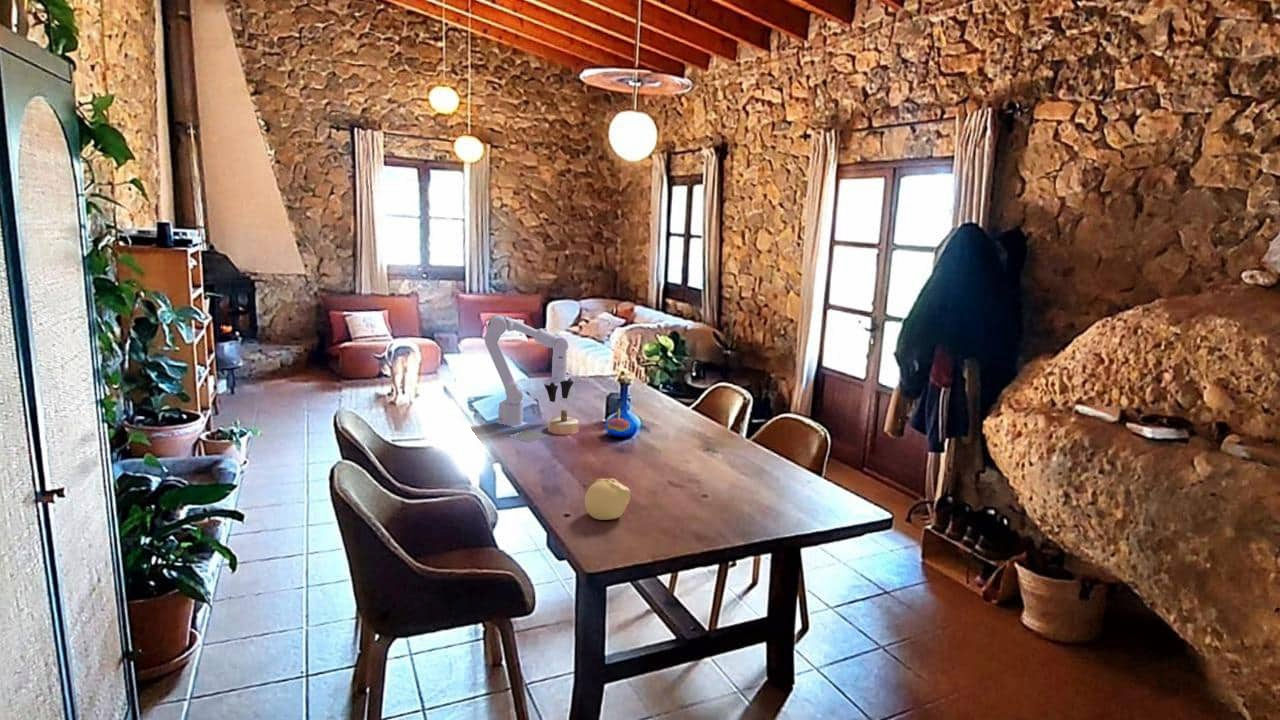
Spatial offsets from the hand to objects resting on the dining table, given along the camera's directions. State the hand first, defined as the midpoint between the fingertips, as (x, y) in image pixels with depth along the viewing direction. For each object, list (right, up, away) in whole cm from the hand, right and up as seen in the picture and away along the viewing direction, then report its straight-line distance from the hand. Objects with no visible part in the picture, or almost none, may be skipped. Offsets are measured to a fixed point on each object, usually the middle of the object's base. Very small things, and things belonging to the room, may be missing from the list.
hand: (558, 399), depth 292 cm
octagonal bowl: (+3, -12, -7) cm, 14 cm away
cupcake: (+24, -14, -11) cm, 30 cm away
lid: (+3, -8, -8) cm, 12 cm away
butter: (+23, -28, -86) cm, 93 cm away
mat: (-10, -13, -17) cm, 23 cm away
